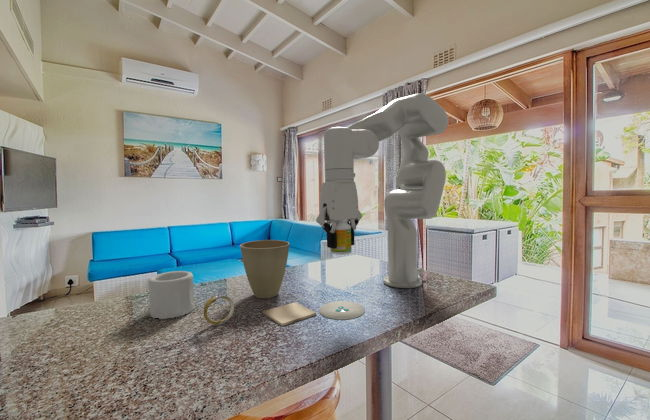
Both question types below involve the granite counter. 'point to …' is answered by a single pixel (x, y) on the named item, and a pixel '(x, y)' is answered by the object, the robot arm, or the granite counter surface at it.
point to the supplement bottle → (342, 238)
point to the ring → (209, 301)
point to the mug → (171, 294)
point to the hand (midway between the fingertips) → (340, 245)
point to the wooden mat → (289, 313)
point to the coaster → (341, 310)
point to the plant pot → (265, 265)
